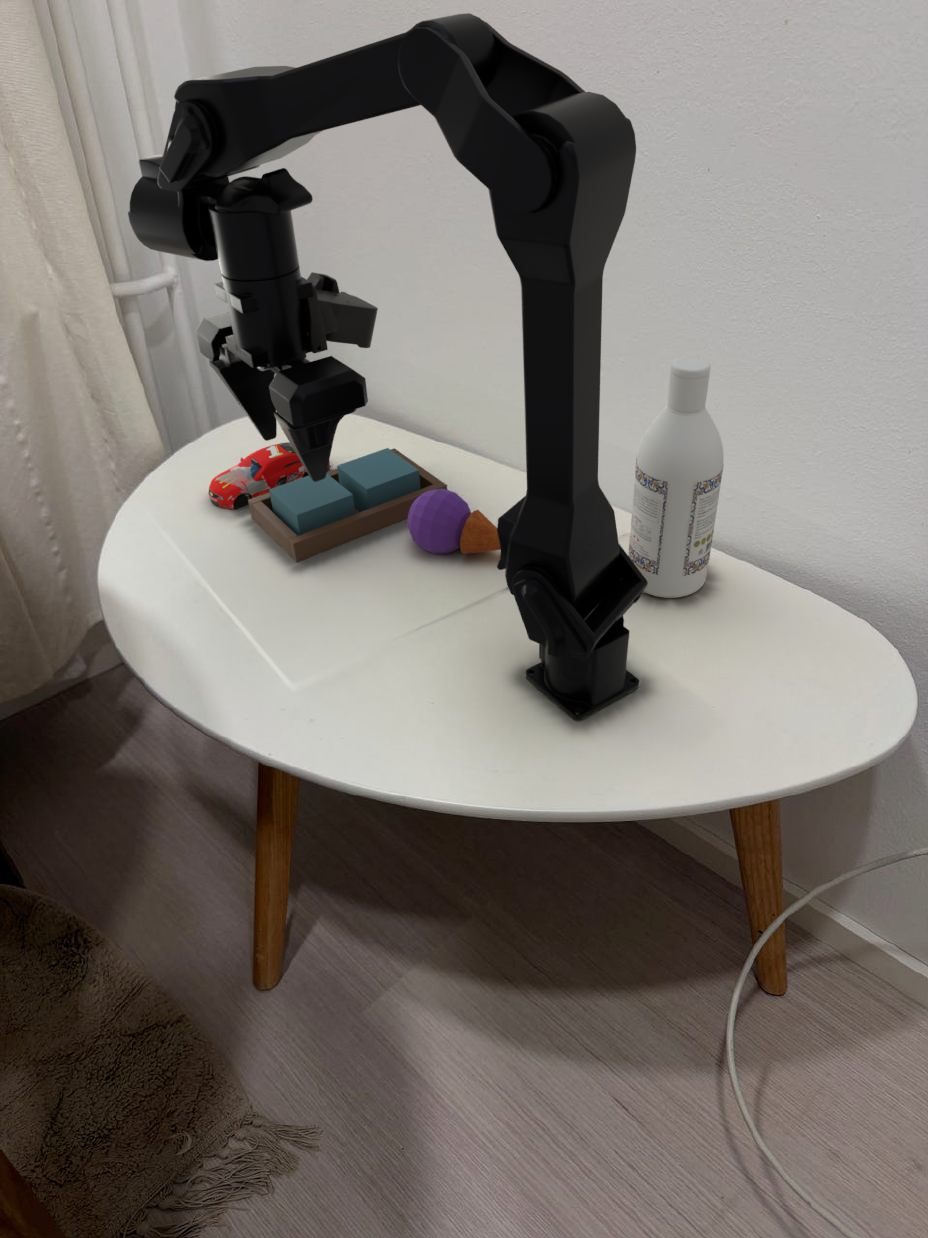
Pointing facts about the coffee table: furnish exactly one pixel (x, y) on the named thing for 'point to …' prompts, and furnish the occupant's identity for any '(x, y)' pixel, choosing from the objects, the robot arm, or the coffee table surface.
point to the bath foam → (677, 486)
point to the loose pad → (311, 503)
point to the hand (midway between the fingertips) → (293, 458)
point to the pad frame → (343, 528)
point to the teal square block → (378, 478)
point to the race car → (256, 476)
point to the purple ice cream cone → (449, 525)
